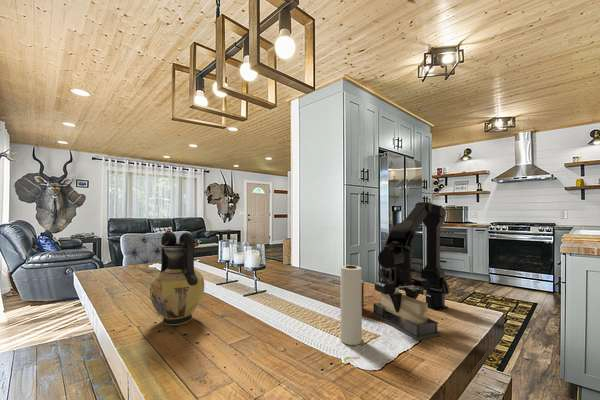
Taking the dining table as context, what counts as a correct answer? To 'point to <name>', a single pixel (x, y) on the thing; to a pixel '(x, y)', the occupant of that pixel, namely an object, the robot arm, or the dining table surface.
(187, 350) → the dining table surface
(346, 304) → the paper towel roll
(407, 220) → the robot arm
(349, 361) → the dining table surface
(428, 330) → the bracket
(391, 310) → the beige rectangular block
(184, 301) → the amphora
